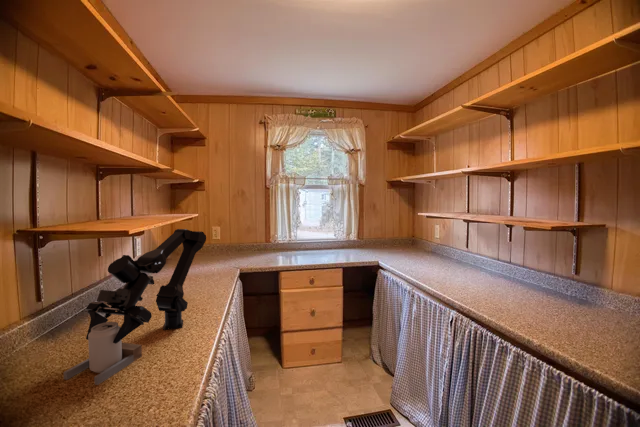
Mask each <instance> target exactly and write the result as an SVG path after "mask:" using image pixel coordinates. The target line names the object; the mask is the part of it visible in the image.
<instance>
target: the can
mask: <svg viewBox="0 0 640 427" xmlns="http://www.w3.org/2000/svg"><path fill="white" fill-rule="evenodd" d="M120 328H121V326H120V325H119V322H117V321H107V322H105V323H101V324H98V325H96V326H94V327H92V328H91V332H90V333H89V335H88V340H87V341H88V342H87V344H88V359H89V367H88V368H89V370H90V371H91V372H94V373H95V374H96V373H98V374H100V373H102V372H103V371H105V370H106V369H108V368H110V367H111V366H113V365H115V364H116V363H118V362H119V361H121V360H122V343H123V342H122V340H120V341H119V342H118V343H116V344H115V343H113V341H114V339H115V336H116V335H117V333H118V331H119V329H120Z"/></svg>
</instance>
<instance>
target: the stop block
mask: <svg viewBox="0 0 640 427" xmlns="http://www.w3.org/2000/svg"><path fill="white" fill-rule="evenodd" d="M142 346H143V345H142V344H138V343H128V342H122V360H123V359H124V358H126V357H128V356H129V355H133V356H134V362H135V361H137V360H138V359H140V358H141V357H143V349H142V348H143V347H142Z"/></svg>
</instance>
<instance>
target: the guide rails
mask: <svg viewBox="0 0 640 427" xmlns="http://www.w3.org/2000/svg"><path fill="white" fill-rule="evenodd" d="M134 362H135V361H134V356H133V355H129V356H128V357H126V358H124V359H123V360H121V361H119V362H118V363H116V364H115V365H113V366H111V367H110V368H108V369H106V370H105V371H103V372H102V373H98V374H97V375H95V376H94V378H93V379H94V385H95V386H99V385H100V384H101V383H103V382H104V381H106V380H108V379H109V378H111V377H113V376H114V375H116V374H118V373H119V372H120V371H122V370H123V369H124V368H126V367H128V366H129V365H131V364H132V363H134ZM88 368H89V358H87V359H85V360H83V361H81V362H79V363H78V364H76V365H74V366H72V367H70V368H69V369H66V370H65V371H63V380H65V381H66V380H69V379H71V378H73V377H75V376H76V375H78V374H80V373H81V372H84V371H86V370H87V369H88Z"/></svg>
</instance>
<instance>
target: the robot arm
mask: <svg viewBox="0 0 640 427" xmlns="http://www.w3.org/2000/svg"><path fill="white" fill-rule="evenodd" d="M206 242H207V235H206V234H205V233H204V231H196V230H189V229H187V228H177V229H175V230H174V231H173V233H171V235H170V236H169V237H167V238H166V239H165V240H164V241H163V242H162V243H161V244H159V245H158V246H157V247H156V248H155V249H153V250H151V251H148V252H145V253H144V254H141V255H140V256H139V257H138V258H137V259H136V260H134V259H133V258H132V257H131V256H130V255H129V254H123V255H122V256H121V257H119V258H117V259H116V260H114V261H112V262H111V263H110V264H109V265H108V267H107V271H108V273H109V274H110V275H112V276H113V277H114V278H115V279H116V280H118V281H119V282H120V283H121V284H124V286H123V287H122V288H117V290H107V289H106V290H104V289H100V290H99V293H98V296H97V298H96V301H93V302H89V303H88V305H87V306H85V308H84V309H85V311H87V314H88V315H89V316H90V317H89V318H90V320H89V321H90V322H89V326H88V330H87V334H86V337H85V339H86V340H87V341H88V335H89V333H90V332H91V328H92V327H94V326H96V325H98V324H101V323H105V322H109V318H110V317H111V316H112V315H115V316H123V322H122V324H121V326H120V327H121V328H120V329H119V331H118V333H117V335H116V336H115V339H114V341H113V343H115V344H116V343H118V342H119V341H120V340H121V341H122V340H123V339H125V337H127V336H128V335H129V334H131V333H132V332H133V331H135V330H136V329H137V328H139V327H140V326H144V325H145V323H147V324H148V323H150V321H151V319H152V317H153V316H152V312H151V311H150V310H148V309H147V308H146V307H144V306H142V305H137V303H138V302H142V301H143V300H144V298H143V297H142V295H143V293H144V292H145V290H146V289H147V287H148V285H155V280H154V276H151V275H148V273H149V274H158V273H160V272H161V271H162V269H163V268H164V267H165V265H166V264H167V259H168V257H169V256H170V255H171V254H173V253H174V252H175V251H176V250H177V248H179V247H180V246H181V245H182V252H181V254H180V256H179V259H178V260H177V263H176V266H175V267H174V270H173V272H172V275H171V277H170V279H169V282H168V283H167V284H166V285H164V284H162V285H161V286H160V288H159V290H158V292H157V294H156V295H155V296H156V298H155V303H156V306H157V308H158V312H159V311H160V312H164V324H163V328H162V331H168V330H174V329H180V328H181V329H182V328H183V327H184V320H183V319H182V317H183V316H182V312H185V311H186V309H188V304H189V303H188V301H187V300H186V299H184V296H185V295H184V294H185V293H184V288H183V285H184V284H185V280H186V279H187V276H188V274H189V271H190V269H191V266H192V263H193V261H194V259H195V255H196V254H197V252H199V251H200V250H201V249H202V248H203V247H204V245H205V243H206Z"/></svg>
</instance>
